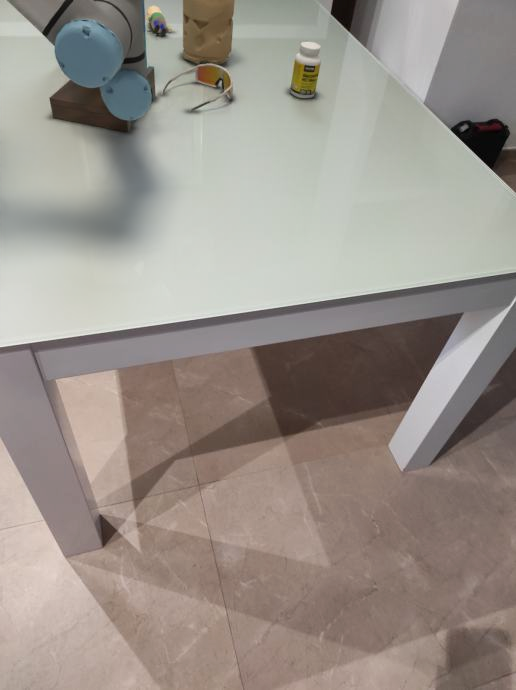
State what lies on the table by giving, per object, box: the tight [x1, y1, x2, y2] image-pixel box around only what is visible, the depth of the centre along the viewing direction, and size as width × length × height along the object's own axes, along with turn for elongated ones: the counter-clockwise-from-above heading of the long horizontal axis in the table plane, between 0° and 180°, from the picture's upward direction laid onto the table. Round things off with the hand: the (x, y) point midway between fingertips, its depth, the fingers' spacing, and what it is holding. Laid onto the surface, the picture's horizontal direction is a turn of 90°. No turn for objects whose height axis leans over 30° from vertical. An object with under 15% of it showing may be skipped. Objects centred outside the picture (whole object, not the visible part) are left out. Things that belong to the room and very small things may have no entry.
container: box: [182, 0, 236, 65], centre depth 128 cm, size 13×13×18 cm
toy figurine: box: [145, 5, 173, 38], centre depth 144 cm, size 8×4×12 cm
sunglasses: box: [160, 62, 234, 112], centre depth 118 cm, size 14×15×5 cm
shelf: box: [49, 65, 156, 133], centre depth 108 cm, size 16×18×6 cm
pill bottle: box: [289, 41, 322, 99], centre depth 123 cm, size 6×6×11 cm
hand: (94, 16), depth 102 cm, fingers closed on supplement bottle, 7 cm apart
